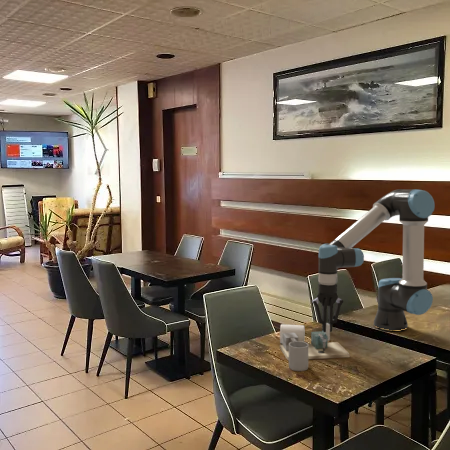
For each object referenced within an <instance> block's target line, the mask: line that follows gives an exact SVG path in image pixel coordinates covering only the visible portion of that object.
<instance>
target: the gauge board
mask: <svg viewBox="0 0 450 450" xmlns="http://www.w3.org/2000/svg"><path fill="white" fill-rule="evenodd" d="M293 341H298V336H297V335H296V334H295V333H283V344H279V349H280V351H281V352H282V355H284V357H285V359H287V361H289V343H290V342H293ZM307 344H308V360H319V359H320V360H321V359H337V358H338V359H339V358H350V357H351V354H350V352H349V351H348V350H346V349H345V347H343V346H342V345H341V343H339V342H338V341H336V342H335V341H334V342H333V341H332V342H328V345H327V348H325V351H323V348H317V349H315V347H314V346H313V345H312V344H311V343H307Z"/></svg>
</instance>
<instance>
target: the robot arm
mask: <svg viewBox="0 0 450 450" xmlns="http://www.w3.org/2000/svg"><path fill="white" fill-rule="evenodd" d="M435 208H436V207H435V200H434V198H433V196H432V194H430V193H429V192H428V191H427V190H424V189H423V190H422V189H403V188H400V189H399V188H398V189H395V190H391V191H390V192H388V193H386V194H385V195H383V196H382V197H380V198H379V199H378V200H377V201H375V202H374V203H373V204H372V208H371V209H370V210H368V211H367V212H366V213H365V214H363V215H362V216H361V217H360V218H358V220H356V221H355V222H354V223H352V224H351V225H350V226H349V227H348V228H347V229H345V231H343V232H342V233H340V235H338V236H337V237H336V238H335V239H333V240H332V241H331V242H330V243H323V244H321V245H320V246H319V248H318V278H317V279H318V280H317V281H318V284H317V285H318V287H317V290H318V292H317V293H318V294H317V295H316V298H314V299H311V302H312V304H313V307H314V311H315V315H316V319H317V322H318V323H319V324H320V325H321V331H323V332H324V333H325V334H326V335H327V336H328V341H331V338H330V337H331V333H332V331H333V325H334V324H337V323H338V318H339V314H340V310H341V308H342V307H341V306H342V305H343V303H344V300H343V299H342V298H340V297H339V295H338V284H337V283H338V269H341V268H355V267H356V268H357V267H360V266H362V264H364V261H365V256H364V255H365V254H364V251H363V250H362V249H360V248H359V247H358V248H354V246H356V245H357V244H358V243H359V242H361V240H362V239H364V238H365V237H367V236H368V235H369V234H370V233H371V232H372V231H374V229H376V228H377V227H378V226H379V225H380V224H382V223H383V222H384V221H389V220H390V219H391V218H392V217H396V216H399V222H400V223H401V224H402V274H401V275H402V277H401V278H400V277H389V278H388V277H387V278H381V279H380V280H379V281H378V286H377V311H376V314H375V316H374V319H373V326H374V325H375V326H377V327H379V328H384V329H389V330H401V329H405V328H407V327H408V326H409V323H408V320H407V317H406V314H405V312H407V313H408V314H412V315H416V316H421V315H423V314H426V313H427V312H428V311H429V309H430V308H432V305H433V301H434V296H433V294H432V293H431V291H430V290H429V289H428V282H426V281H425V279H424V270H425V269H424V268H425V267H424V264H425V262H424V261H425V259H424V256H425V254H424V253H425V225H426V224H427V223H428V222H429V217H430V216H432V214H433V213H434V211H435ZM319 303H320V304H321V311H320V307H319ZM335 303H336V304H335ZM334 304H335V307H334ZM333 310H334V311H333Z"/></svg>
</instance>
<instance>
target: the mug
mask: <svg viewBox="0 0 450 450" xmlns="http://www.w3.org/2000/svg"><path fill="white" fill-rule="evenodd" d="M305 331H306V330H305V325H302V324H301V325H300V324H282V323H281V324H280V330H279V343H280V344H281V345H283V333H295V334H296V335H297V336H298V341H302V342H305V339H306V338H305V337H306V334H305Z"/></svg>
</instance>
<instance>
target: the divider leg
mask: <svg viewBox="0 0 450 450" xmlns="http://www.w3.org/2000/svg"><path fill="white" fill-rule="evenodd" d="M310 333H311V335H310V336H311V337H310V339H311V340H310V342H311V344H312V345H313V346H314V347H315V349H317V348H323V351H325V348H327V345H328V343H329V342H328V336H327V335H326V334H325V333H324V332H323V331H322V330H321V331H311V332H310Z"/></svg>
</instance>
